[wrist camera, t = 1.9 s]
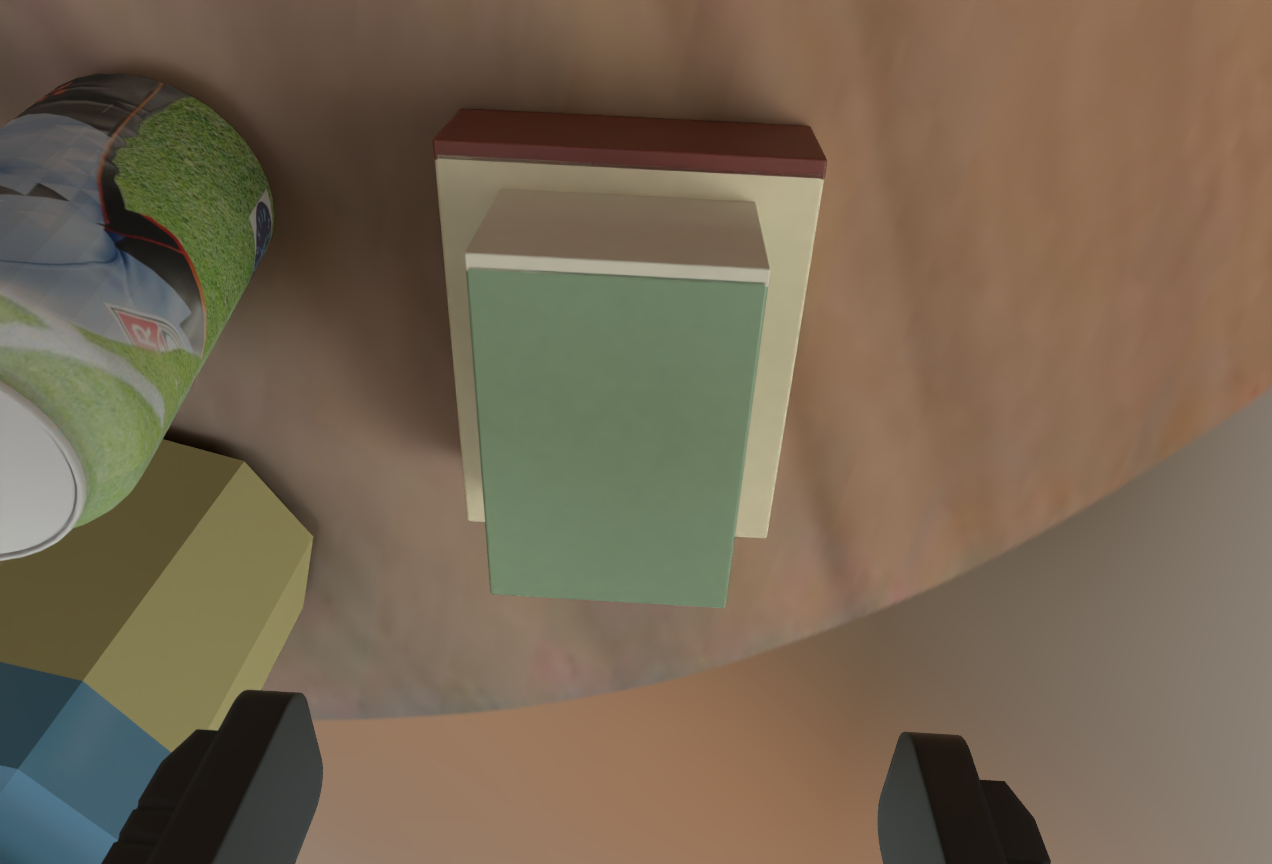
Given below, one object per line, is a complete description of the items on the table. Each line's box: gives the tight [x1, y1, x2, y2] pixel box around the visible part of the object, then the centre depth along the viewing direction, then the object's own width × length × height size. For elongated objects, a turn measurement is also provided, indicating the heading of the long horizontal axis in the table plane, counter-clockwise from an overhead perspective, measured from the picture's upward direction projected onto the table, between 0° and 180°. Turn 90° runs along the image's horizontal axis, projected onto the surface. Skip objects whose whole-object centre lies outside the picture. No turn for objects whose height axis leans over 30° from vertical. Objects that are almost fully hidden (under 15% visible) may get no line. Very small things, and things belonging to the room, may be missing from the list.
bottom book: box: [433, 109, 827, 538], centre depth 24 cm, size 11×9×3 cm
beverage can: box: [0, 74, 274, 561], centre depth 19 cm, size 6×7×12 cm
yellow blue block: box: [0, 439, 313, 864], centre depth 24 cm, size 9×9×15 cm
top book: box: [464, 189, 771, 608], centre depth 21 cm, size 9×6×4 cm, turn 178°
